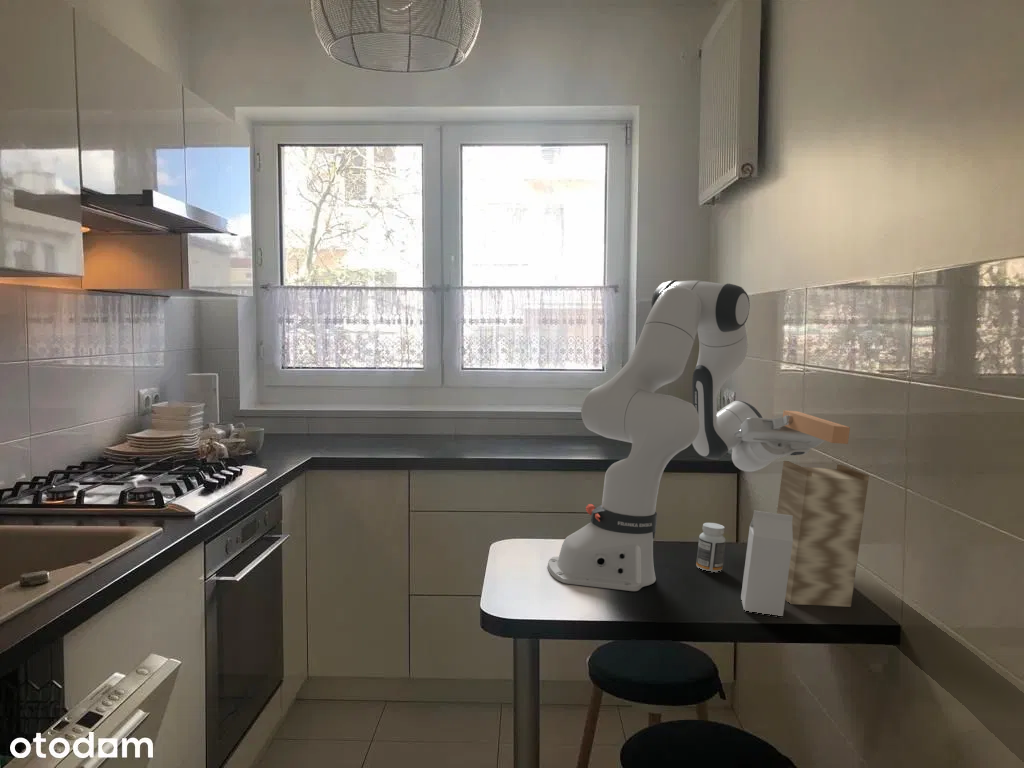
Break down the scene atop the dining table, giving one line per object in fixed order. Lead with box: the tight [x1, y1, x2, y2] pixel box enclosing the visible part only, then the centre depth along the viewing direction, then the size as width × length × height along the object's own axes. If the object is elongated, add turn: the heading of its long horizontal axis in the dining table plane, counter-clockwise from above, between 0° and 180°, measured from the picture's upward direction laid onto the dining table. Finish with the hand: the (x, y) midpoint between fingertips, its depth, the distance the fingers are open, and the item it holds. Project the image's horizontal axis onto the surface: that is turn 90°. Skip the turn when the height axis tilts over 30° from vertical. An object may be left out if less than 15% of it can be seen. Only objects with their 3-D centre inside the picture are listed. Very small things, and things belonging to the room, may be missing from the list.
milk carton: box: [740, 510, 793, 617], centre depth 148 cm, size 7×7×19 cm
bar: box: [782, 409, 851, 445], centre depth 168 cm, size 4×22×4 cm, turn 7°
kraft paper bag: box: [776, 460, 870, 608], centre depth 157 cm, size 13×10×27 cm
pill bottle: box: [695, 522, 727, 573], centre depth 170 cm, size 6×6×10 cm
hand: (799, 419), depth 174 cm, fingers closed on bar, 3 cm apart
